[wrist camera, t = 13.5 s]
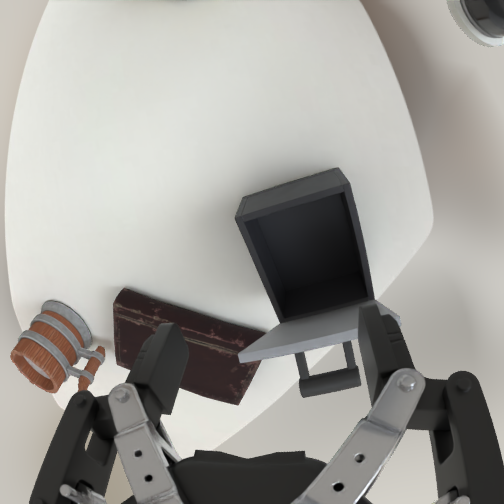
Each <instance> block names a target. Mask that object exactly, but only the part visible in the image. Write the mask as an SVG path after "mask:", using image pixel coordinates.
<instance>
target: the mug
mask: <svg viewBox="0 0 504 504" xmlns="http://www.w3.org/2000/svg"><path fill="white" fill-rule="evenodd" d="M91 343H92V339H91V335H90V332H89V329H88V327H87V326H86V324H85V323H84V321H83V320H82V319H81V318H80V316H79V315H78V314H76V313H75V312H74V311H73V310H72V309H70V308H69V307H67V306H66V305H64V304H62V303H59V302H53V301H49V302H46V303H44V304H43V306H42V309H41V314H39V315H37V316H36V317H35V318H34V319H33V321H32V322H31V325H30V328H29V330H25V331H24V332H23V333H22V334H21V336H20V337H19V338H18V344H17V345H16V346H15V348H14V349H13V350H12V352H11V356H10V357H11V360H12V362H13V363H15V365H16V366H17V368H18V369H19V371H20V372H21V373H22V374H23V375H24V376H25V377H27V378H28V379H29V381H30V382H31V383H32V384H35V385H36V386H38V387H39V388H41V389H43V390H45V391H46V392H49V393H56V392H57V391H58V389H59V388H60V386H61V384H62V383H63V382H66V381H67V380H68V378H69V376H70V375H72V376H75V377H77V378H79V383H78V388H79V390H78V392H79V391H82V390H87V388H88V386H89V384H92V382H93V380H94V376H95V373H96V371H97V370H98V367H99V366H100V365H102V363H103V362H104V360H105V349H104V348H103V347H102V346H98V347H97V349H96V350H95V351H93V352H91V351H89V350H86V349H88V348H89V347H90V346H91ZM81 357H84V358H86V359H88V360H89V361H88V363H87V365H86V367H85V368H84V370H82V371H81V370H79V369H77V368H74V367H72V366H73V365H75V364H77V363H78V361H79V360H80V358H81Z"/></svg>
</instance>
